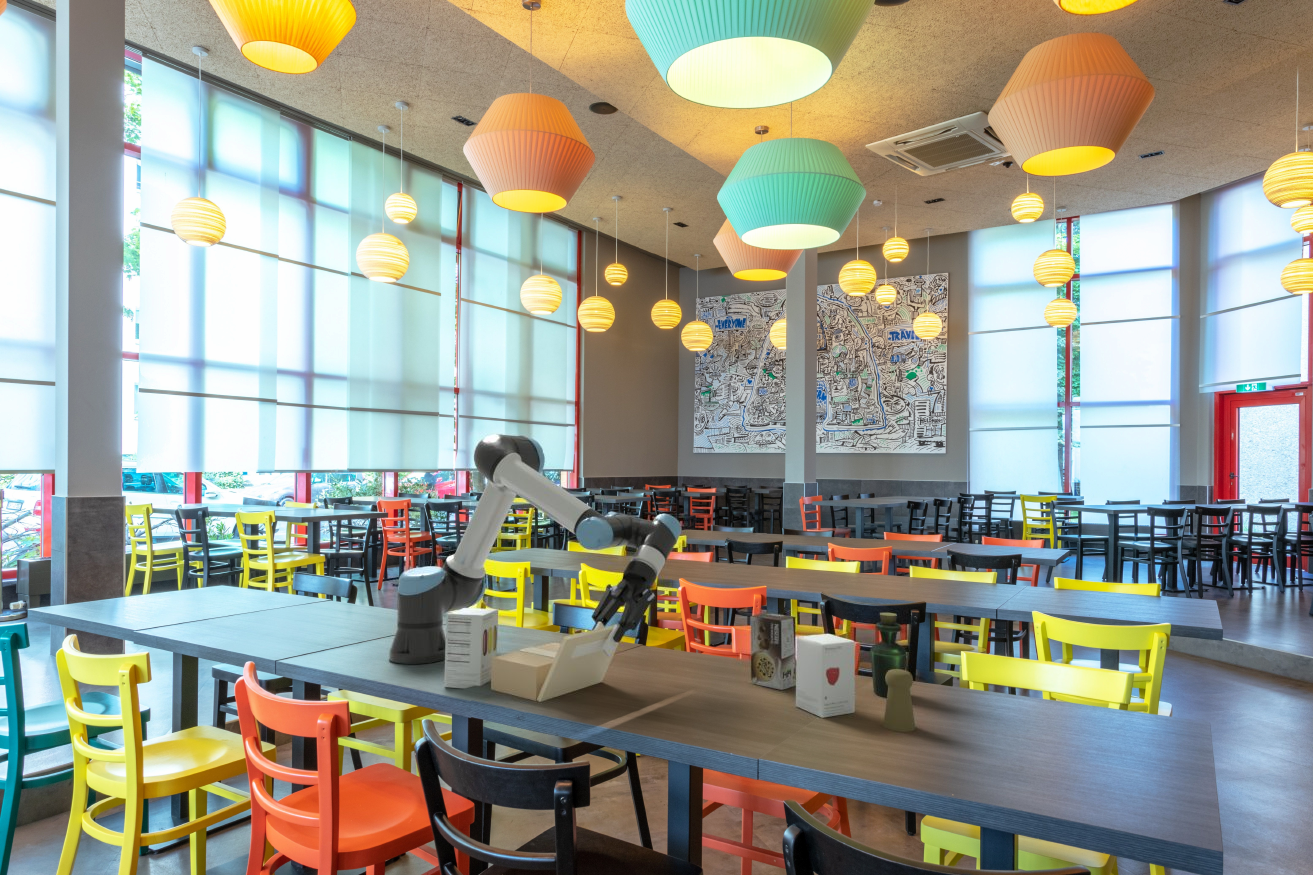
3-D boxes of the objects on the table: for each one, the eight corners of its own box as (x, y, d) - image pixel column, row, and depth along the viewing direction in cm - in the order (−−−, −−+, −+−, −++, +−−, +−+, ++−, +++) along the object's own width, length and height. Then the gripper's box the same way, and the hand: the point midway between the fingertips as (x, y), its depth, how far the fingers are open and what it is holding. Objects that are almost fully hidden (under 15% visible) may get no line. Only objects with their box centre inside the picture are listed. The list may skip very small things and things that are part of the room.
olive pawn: (911, 733, 146) (910, 675, 146) (879, 727, 149) (879, 671, 150) (918, 725, 151) (918, 669, 152) (888, 719, 154) (887, 664, 155)
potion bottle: (873, 687, 178) (873, 609, 179) (909, 691, 175) (909, 612, 176) (866, 695, 171) (866, 615, 172) (904, 700, 167) (904, 618, 168)
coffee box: (797, 685, 179) (797, 616, 180) (781, 690, 174) (781, 619, 175) (765, 678, 185) (765, 611, 186) (749, 683, 181) (749, 614, 182)
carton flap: (536, 699, 161) (563, 636, 157) (598, 679, 177) (624, 622, 174) (540, 703, 160) (567, 640, 157) (601, 683, 177) (627, 625, 173)
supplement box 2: (822, 718, 154) (822, 644, 155) (794, 706, 162) (794, 635, 163) (856, 712, 159) (856, 640, 159) (828, 701, 166) (827, 632, 167)
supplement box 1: (480, 690, 172) (482, 615, 173) (442, 687, 174) (444, 613, 175) (497, 679, 181) (499, 608, 182) (461, 677, 183) (463, 606, 184)
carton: (490, 693, 170) (491, 656, 170) (553, 675, 186) (553, 641, 186) (535, 705, 161) (536, 666, 162) (597, 685, 177) (598, 649, 178)
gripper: (679, 582, 179) (635, 666, 165) (622, 575, 189) (575, 654, 175) (666, 561, 175) (620, 646, 161) (609, 556, 185) (560, 635, 171)
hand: (597, 650), depth 168 cm, fingers closed on carton flap, 4 cm apart
